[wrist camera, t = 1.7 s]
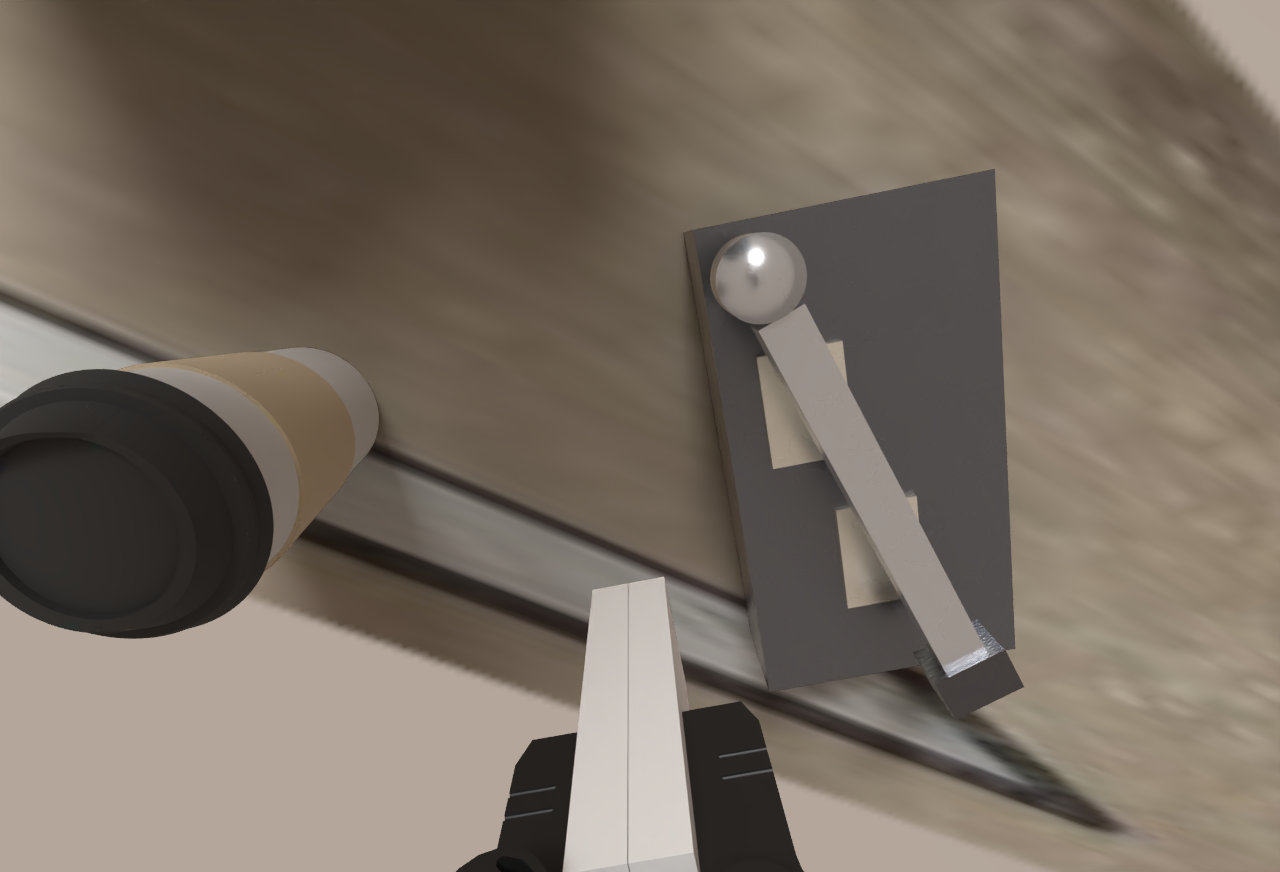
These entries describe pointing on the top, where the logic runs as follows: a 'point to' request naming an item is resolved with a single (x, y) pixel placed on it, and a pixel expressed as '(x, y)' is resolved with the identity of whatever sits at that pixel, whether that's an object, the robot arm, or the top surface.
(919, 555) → the grey long bar
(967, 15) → the top surface
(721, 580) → the top surface
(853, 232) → the lever switch
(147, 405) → the coffee cup
